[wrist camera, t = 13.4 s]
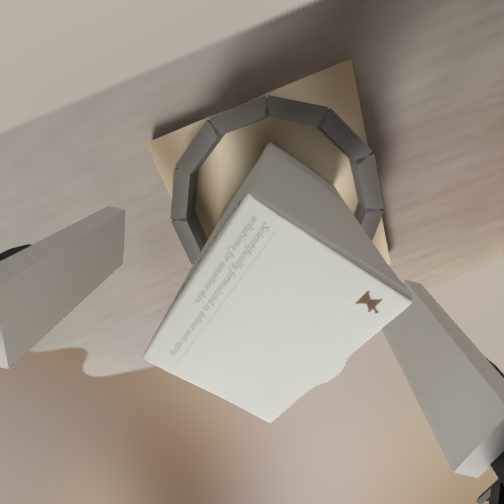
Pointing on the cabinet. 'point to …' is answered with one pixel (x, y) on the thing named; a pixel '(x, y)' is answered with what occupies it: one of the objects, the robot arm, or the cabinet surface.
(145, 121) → the cabinet surface
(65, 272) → the robot arm
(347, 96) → the collar
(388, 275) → the skincare box
